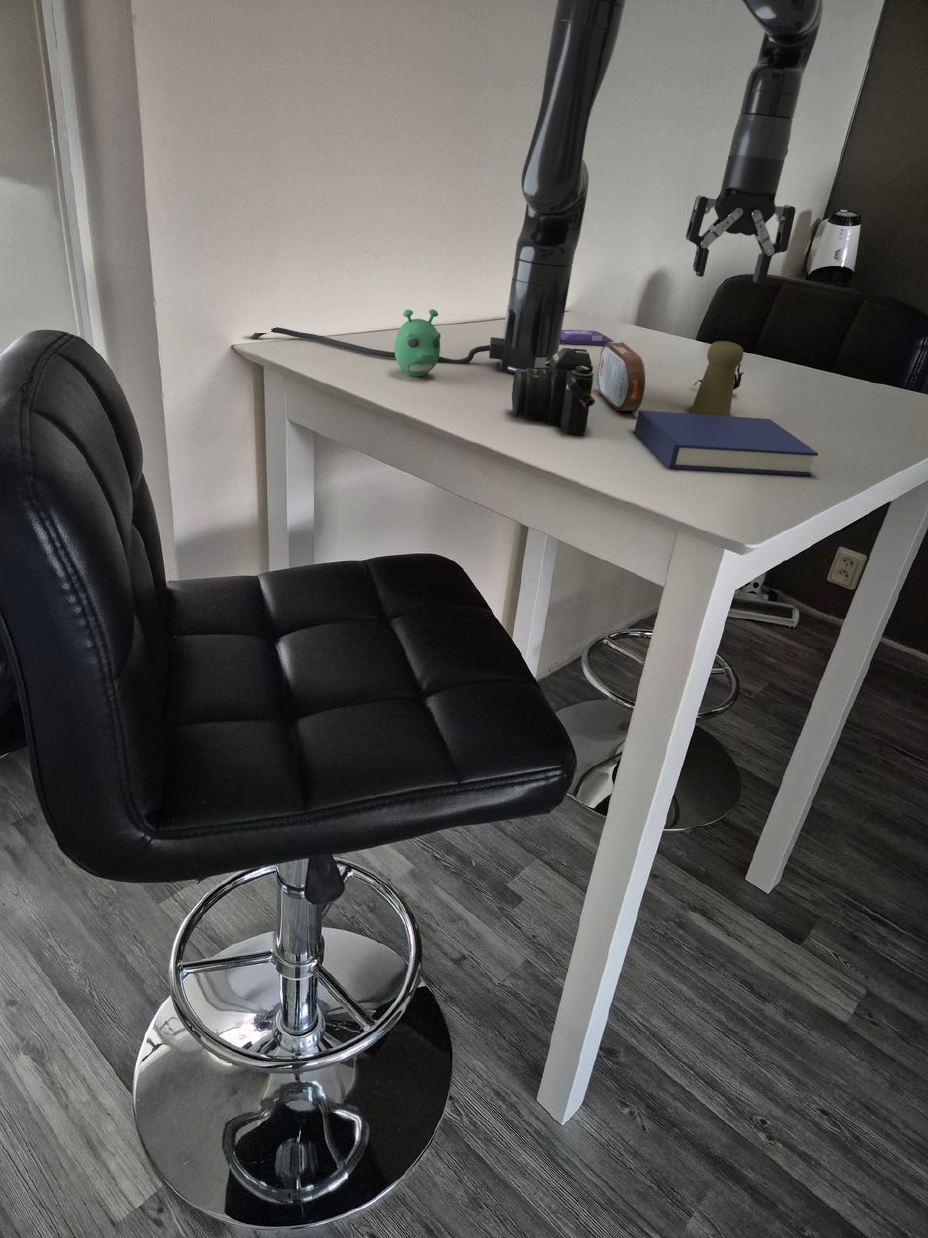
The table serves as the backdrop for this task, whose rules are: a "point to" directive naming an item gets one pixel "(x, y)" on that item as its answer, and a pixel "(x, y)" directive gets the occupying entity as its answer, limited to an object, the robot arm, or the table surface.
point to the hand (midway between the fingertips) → (727, 278)
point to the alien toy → (417, 345)
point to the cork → (718, 380)
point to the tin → (621, 377)
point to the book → (723, 443)
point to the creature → (737, 380)
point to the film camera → (557, 391)
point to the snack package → (584, 337)
